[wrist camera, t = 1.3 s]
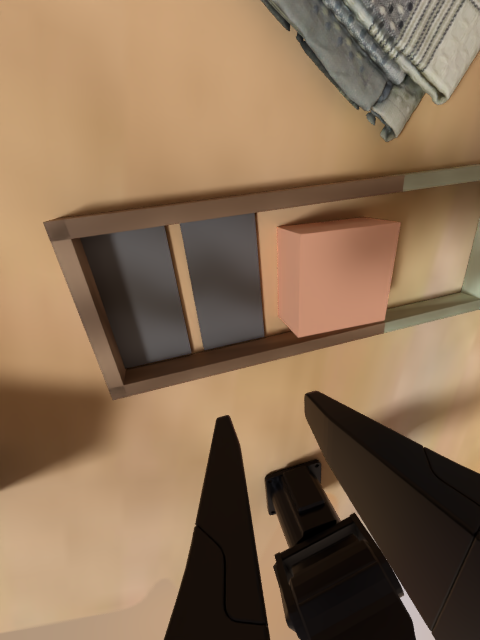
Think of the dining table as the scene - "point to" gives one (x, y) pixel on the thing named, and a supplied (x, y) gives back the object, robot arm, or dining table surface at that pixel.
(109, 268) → the channel
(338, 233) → the block
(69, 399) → the dining table surface
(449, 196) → the dining table surface
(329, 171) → the dining table surface
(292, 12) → the dish towel
